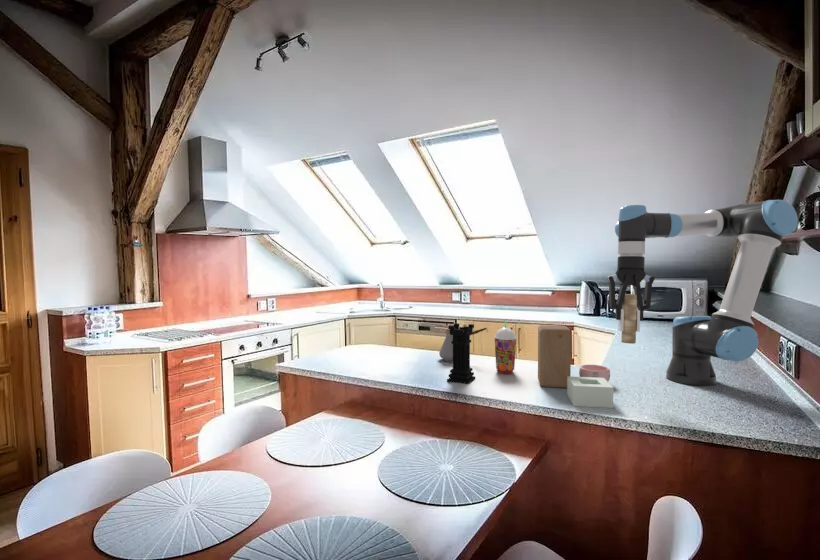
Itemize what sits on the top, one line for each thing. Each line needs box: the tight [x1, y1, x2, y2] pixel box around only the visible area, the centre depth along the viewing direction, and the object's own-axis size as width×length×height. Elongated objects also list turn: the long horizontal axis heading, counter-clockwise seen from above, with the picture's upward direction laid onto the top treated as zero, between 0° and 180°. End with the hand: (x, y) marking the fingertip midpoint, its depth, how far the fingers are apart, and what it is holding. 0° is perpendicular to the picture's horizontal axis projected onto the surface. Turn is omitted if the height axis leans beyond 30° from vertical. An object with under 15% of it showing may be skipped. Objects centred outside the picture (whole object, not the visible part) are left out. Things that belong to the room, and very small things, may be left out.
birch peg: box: [620, 293, 638, 345], centre depth 140 cm, size 4×4×15 cm
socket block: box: [566, 375, 614, 409], centre depth 137 cm, size 11×11×6 cm
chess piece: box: [446, 322, 476, 385], centre depth 161 cm, size 8×8×20 cm
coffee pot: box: [439, 327, 489, 363], centre depth 192 cm, size 21×12×15 cm, turn 66°
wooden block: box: [537, 324, 572, 389], centre depth 156 cm, size 10×10×20 cm
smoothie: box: [494, 320, 517, 375], centre depth 172 cm, size 8×8×20 cm
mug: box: [578, 364, 611, 382], centre depth 157 cm, size 12×10×6 cm
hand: (628, 330), depth 140 cm, fingers closed on birch peg, 4 cm apart
